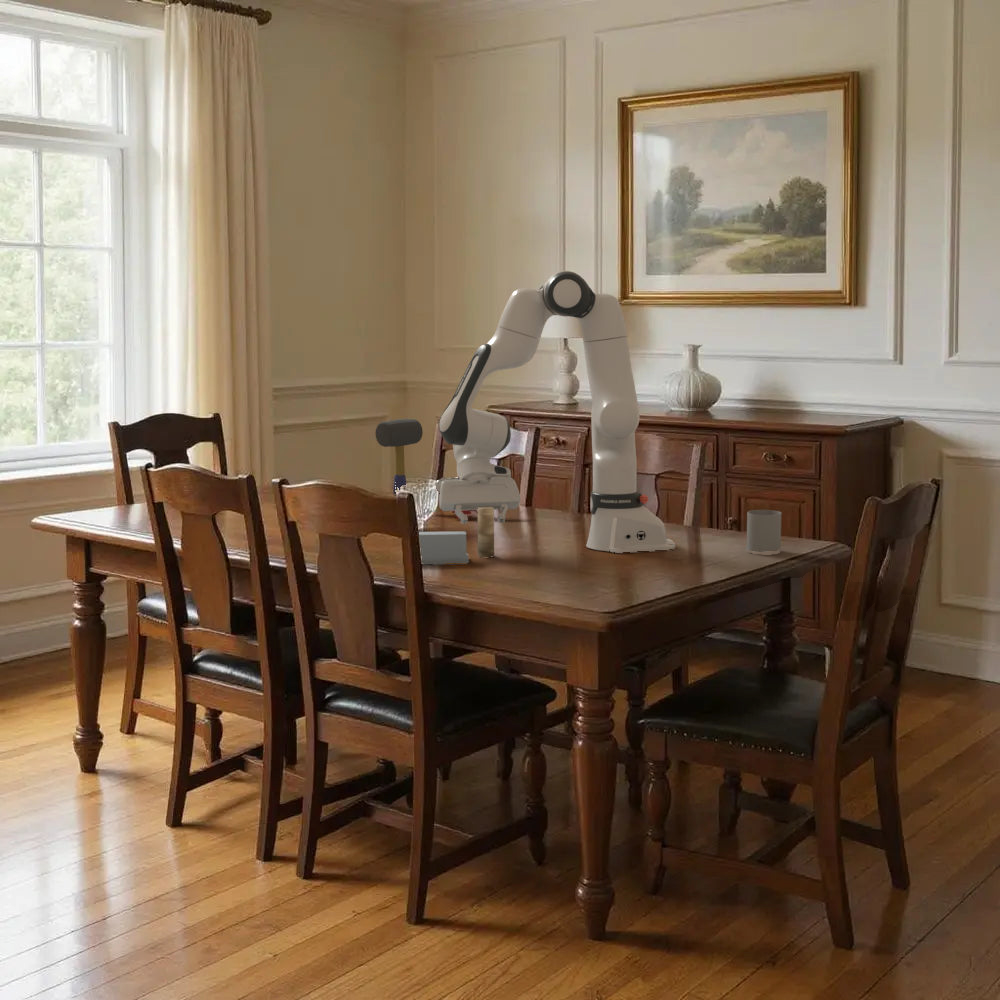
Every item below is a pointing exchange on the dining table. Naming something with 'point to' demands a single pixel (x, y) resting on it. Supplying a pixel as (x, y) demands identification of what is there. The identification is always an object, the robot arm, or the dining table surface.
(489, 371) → the robot arm
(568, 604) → the dining table surface
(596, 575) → the dining table surface
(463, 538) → the gray rectangular block
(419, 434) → the rubber mallet
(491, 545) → the dowel
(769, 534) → the cup
